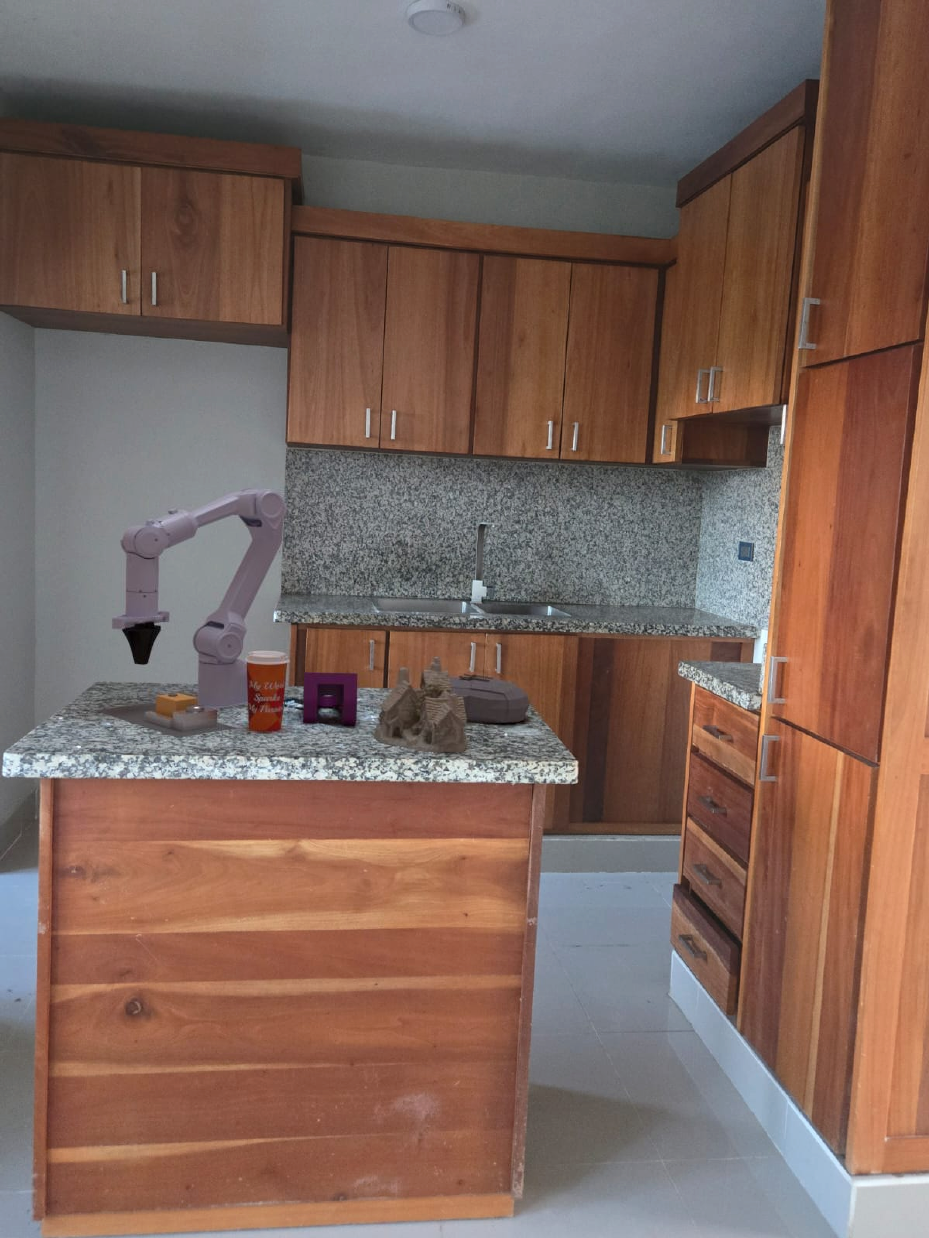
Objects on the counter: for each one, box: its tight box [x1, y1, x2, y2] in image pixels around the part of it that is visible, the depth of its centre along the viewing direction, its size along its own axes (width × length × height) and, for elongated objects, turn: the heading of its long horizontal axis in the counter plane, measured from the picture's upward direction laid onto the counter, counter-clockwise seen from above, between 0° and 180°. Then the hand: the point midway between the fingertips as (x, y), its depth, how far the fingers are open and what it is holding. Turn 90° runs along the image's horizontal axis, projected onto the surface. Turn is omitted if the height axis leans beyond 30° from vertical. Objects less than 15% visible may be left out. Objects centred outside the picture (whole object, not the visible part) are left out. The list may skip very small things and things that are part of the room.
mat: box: [94, 702, 236, 738], centre depth 181 cm, size 12×27×1 cm, turn 49°
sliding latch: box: [145, 704, 218, 732], centre depth 178 cm, size 8×11×4 cm
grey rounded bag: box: [449, 673, 531, 724], centre depth 200 cm, size 15×8×20 cm
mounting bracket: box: [302, 671, 358, 726], centre depth 192 cm, size 10×9×19 cm
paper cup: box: [244, 650, 291, 733], centre depth 177 cm, size 8×8×14 cm
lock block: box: [155, 692, 198, 718], centre depth 179 cm, size 4×6×5 cm
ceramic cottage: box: [373, 656, 468, 754], centre depth 175 cm, size 16×16×15 cm
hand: (141, 663), depth 186 cm, fingers closed
